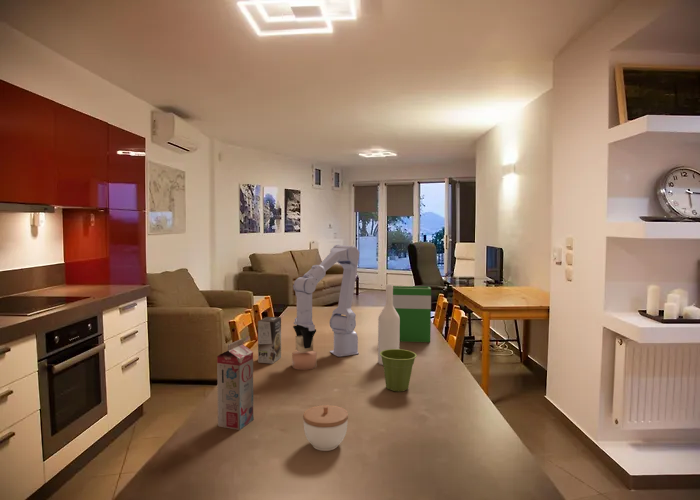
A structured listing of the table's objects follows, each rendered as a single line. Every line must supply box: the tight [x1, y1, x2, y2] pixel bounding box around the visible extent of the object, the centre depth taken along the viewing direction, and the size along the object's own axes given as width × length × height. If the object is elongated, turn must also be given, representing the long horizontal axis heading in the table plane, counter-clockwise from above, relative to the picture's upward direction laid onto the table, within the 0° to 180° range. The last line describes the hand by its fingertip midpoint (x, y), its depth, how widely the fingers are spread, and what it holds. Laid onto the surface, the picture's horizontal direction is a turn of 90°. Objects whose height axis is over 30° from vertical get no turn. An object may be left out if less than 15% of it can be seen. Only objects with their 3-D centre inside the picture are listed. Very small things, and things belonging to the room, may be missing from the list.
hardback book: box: [393, 285, 432, 343], centre depth 212 cm, size 18×7×24 cm, turn 85°
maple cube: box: [295, 335, 314, 353], centre depth 172 cm, size 5×5×5 cm
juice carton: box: [216, 338, 255, 431], centre depth 123 cm, size 7×7×22 cm
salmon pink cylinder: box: [291, 350, 318, 371], centre depth 173 cm, size 9×9×5 cm
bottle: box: [377, 283, 400, 366], centre depth 176 cm, size 8×8×30 cm
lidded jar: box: [302, 404, 349, 452], centre depth 112 cm, size 11×11×9 cm
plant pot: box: [380, 348, 418, 392], centre depth 150 cm, size 12×12×11 cm
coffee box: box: [257, 316, 282, 365], centre depth 180 cm, size 9×6×16 cm
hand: (304, 346), depth 173 cm, fingers closed on maple cube, 5 cm apart
